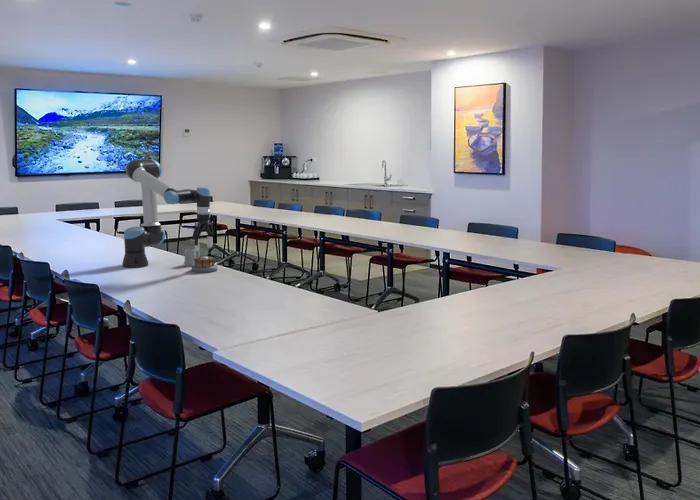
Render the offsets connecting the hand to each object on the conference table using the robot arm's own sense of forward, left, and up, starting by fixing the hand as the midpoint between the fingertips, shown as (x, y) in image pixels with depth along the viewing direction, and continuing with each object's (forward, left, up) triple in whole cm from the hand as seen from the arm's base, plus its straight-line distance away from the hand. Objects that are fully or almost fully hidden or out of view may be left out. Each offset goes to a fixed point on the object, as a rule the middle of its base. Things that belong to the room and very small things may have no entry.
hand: (203, 249), depth 374 cm
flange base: (0, 0, -13) cm, 13 cm away
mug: (-16, +12, -13) cm, 24 cm away
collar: (0, 0, -10) cm, 10 cm away
